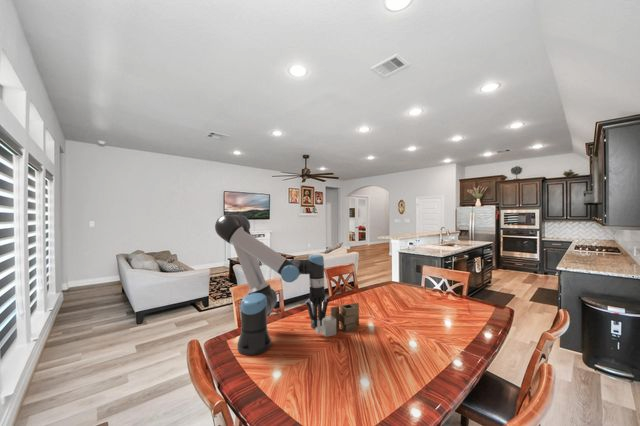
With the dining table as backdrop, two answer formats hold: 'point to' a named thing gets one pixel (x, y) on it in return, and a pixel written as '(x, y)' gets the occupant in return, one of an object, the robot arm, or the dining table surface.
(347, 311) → the brown holed block
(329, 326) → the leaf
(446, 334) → the dining table surface
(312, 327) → the pin
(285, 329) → the dining table surface
